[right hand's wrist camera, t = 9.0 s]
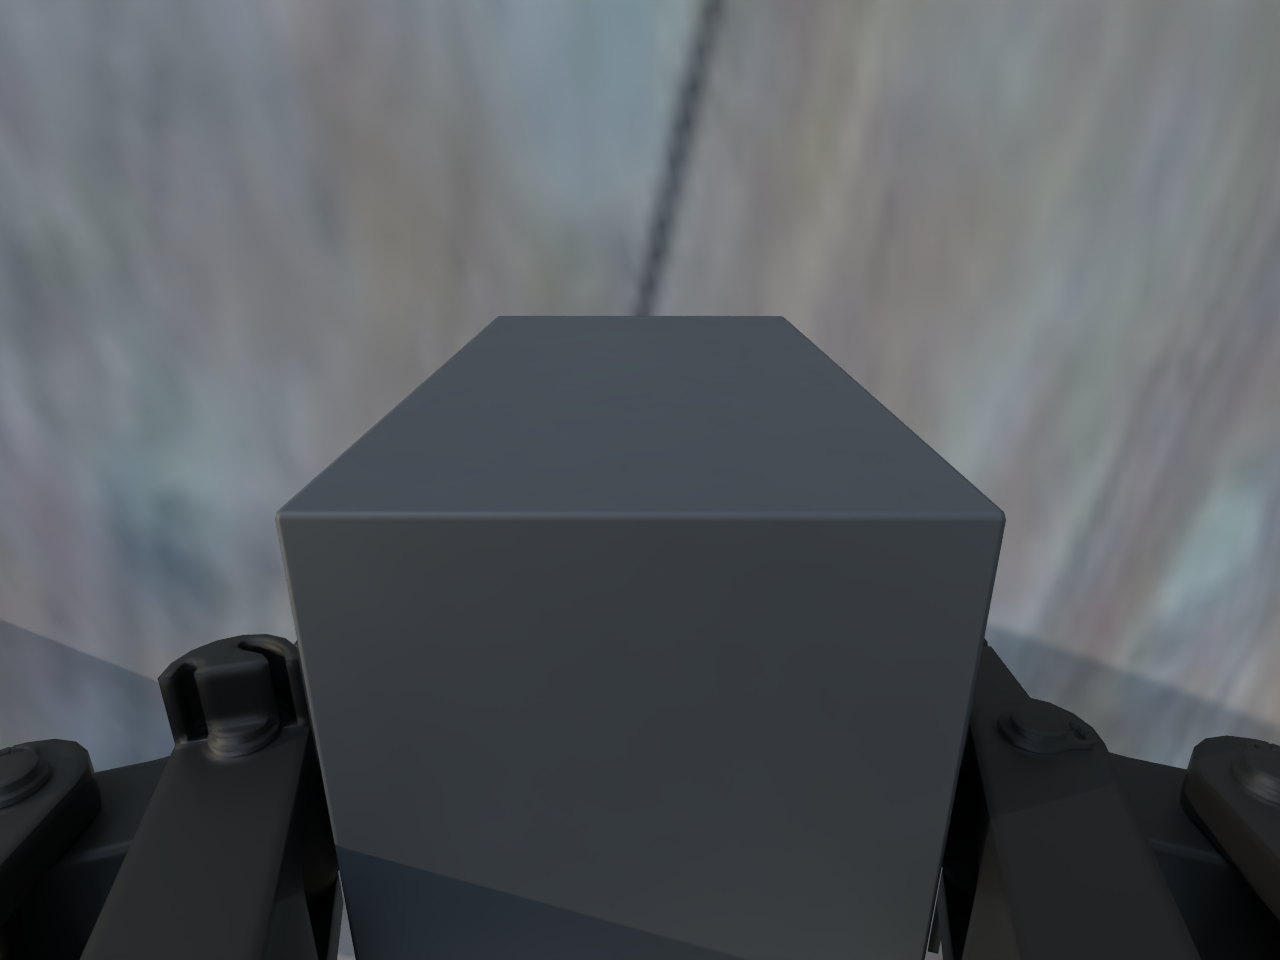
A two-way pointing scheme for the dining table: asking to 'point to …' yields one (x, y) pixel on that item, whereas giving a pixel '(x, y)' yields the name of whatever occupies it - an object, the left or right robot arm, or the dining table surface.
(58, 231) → the dining table surface
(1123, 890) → the right robot arm
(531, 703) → the bar
